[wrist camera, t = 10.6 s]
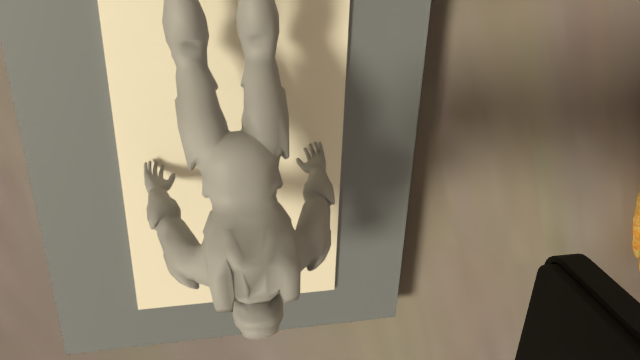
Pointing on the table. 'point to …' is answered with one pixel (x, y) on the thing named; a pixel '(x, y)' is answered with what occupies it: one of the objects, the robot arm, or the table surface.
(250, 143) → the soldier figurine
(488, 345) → the table surface
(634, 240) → the shard
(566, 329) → the robot arm
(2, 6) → the base plate
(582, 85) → the table surface
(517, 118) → the table surface
